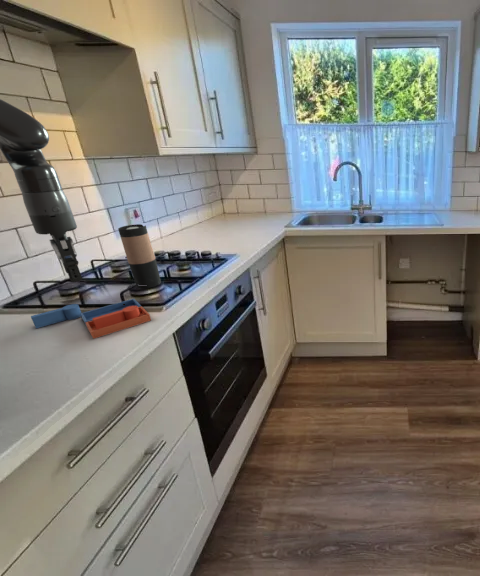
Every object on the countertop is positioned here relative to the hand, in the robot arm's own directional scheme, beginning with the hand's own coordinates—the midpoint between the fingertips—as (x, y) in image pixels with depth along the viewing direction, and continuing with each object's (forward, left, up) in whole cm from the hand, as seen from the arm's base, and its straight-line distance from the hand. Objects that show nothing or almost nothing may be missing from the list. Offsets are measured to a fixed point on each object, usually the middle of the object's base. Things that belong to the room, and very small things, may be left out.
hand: (74, 276), depth 89 cm
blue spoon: (-6, +13, -15) cm, 21 cm away
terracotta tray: (+5, -2, -15) cm, 16 cm away
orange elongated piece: (+5, -2, -14) cm, 15 cm away
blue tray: (+5, +6, -15) cm, 17 cm away
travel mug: (+19, +24, -15) cm, 34 cm away
